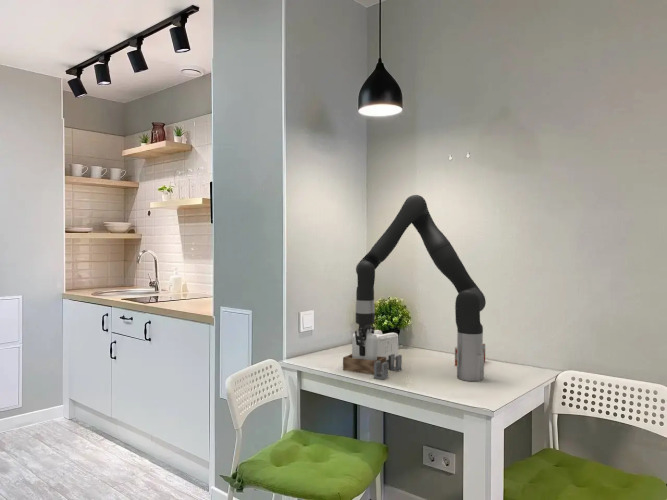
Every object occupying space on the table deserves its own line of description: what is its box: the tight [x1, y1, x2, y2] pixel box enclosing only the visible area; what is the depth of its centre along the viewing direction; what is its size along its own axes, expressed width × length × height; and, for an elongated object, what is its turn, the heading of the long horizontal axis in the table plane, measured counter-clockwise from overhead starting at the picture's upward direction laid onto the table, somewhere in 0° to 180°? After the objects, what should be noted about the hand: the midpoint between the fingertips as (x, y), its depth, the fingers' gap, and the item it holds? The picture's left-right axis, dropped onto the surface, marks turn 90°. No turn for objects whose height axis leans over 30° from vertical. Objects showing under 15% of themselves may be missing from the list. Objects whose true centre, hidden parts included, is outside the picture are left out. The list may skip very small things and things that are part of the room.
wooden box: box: [342, 353, 387, 375], centre depth 210 cm, size 15×9×5 cm, turn 62°
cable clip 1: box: [373, 361, 389, 380], centre depth 198 cm, size 4×4×6 cm
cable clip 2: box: [387, 354, 403, 372], centre depth 210 cm, size 4×4×6 cm
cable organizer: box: [374, 329, 399, 361], centre depth 229 cm, size 15×11×12 cm
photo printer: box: [351, 332, 377, 361], centre depth 210 cm, size 10×4×12 cm, turn 63°
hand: (364, 354), depth 210 cm, fingers open, 4 cm apart
